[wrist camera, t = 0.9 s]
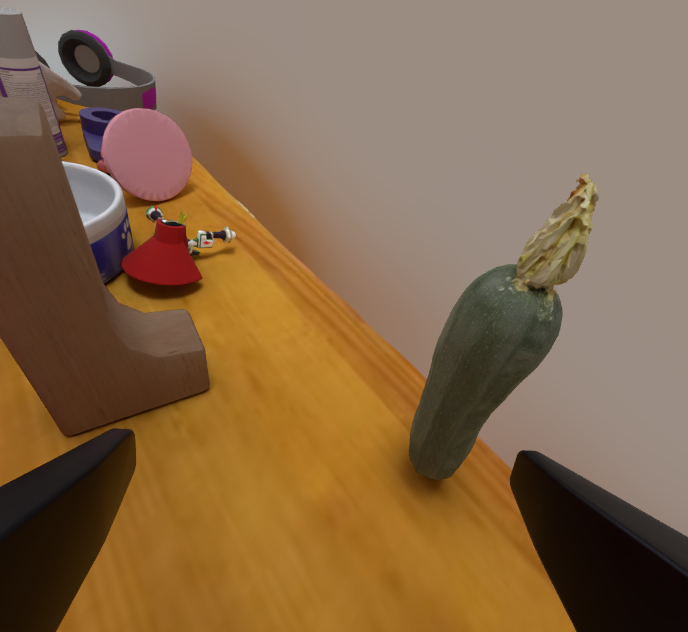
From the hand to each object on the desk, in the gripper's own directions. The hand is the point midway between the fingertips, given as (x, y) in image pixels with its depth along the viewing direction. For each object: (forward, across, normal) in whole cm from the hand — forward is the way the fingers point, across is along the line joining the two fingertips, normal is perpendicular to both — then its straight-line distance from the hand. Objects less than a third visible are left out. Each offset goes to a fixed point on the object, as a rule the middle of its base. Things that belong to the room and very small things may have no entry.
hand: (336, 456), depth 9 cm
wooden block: (+18, +12, +9) cm, 23 cm away
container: (+51, +36, -6) cm, 63 cm away
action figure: (+31, +14, +3) cm, 34 cm away
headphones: (+72, +49, -21) cm, 89 cm away
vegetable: (+13, -8, +11) cm, 19 cm away
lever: (+55, +30, -8) cm, 63 cm away
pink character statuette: (+41, +19, -7) cm, 46 cm away
